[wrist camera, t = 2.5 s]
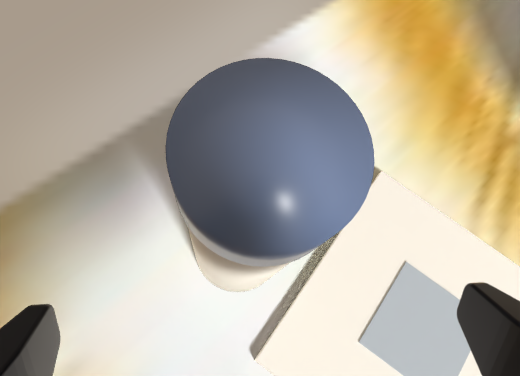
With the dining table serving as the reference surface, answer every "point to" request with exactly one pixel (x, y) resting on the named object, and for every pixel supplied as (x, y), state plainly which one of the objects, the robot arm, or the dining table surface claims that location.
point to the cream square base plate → (388, 295)
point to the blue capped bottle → (265, 167)
